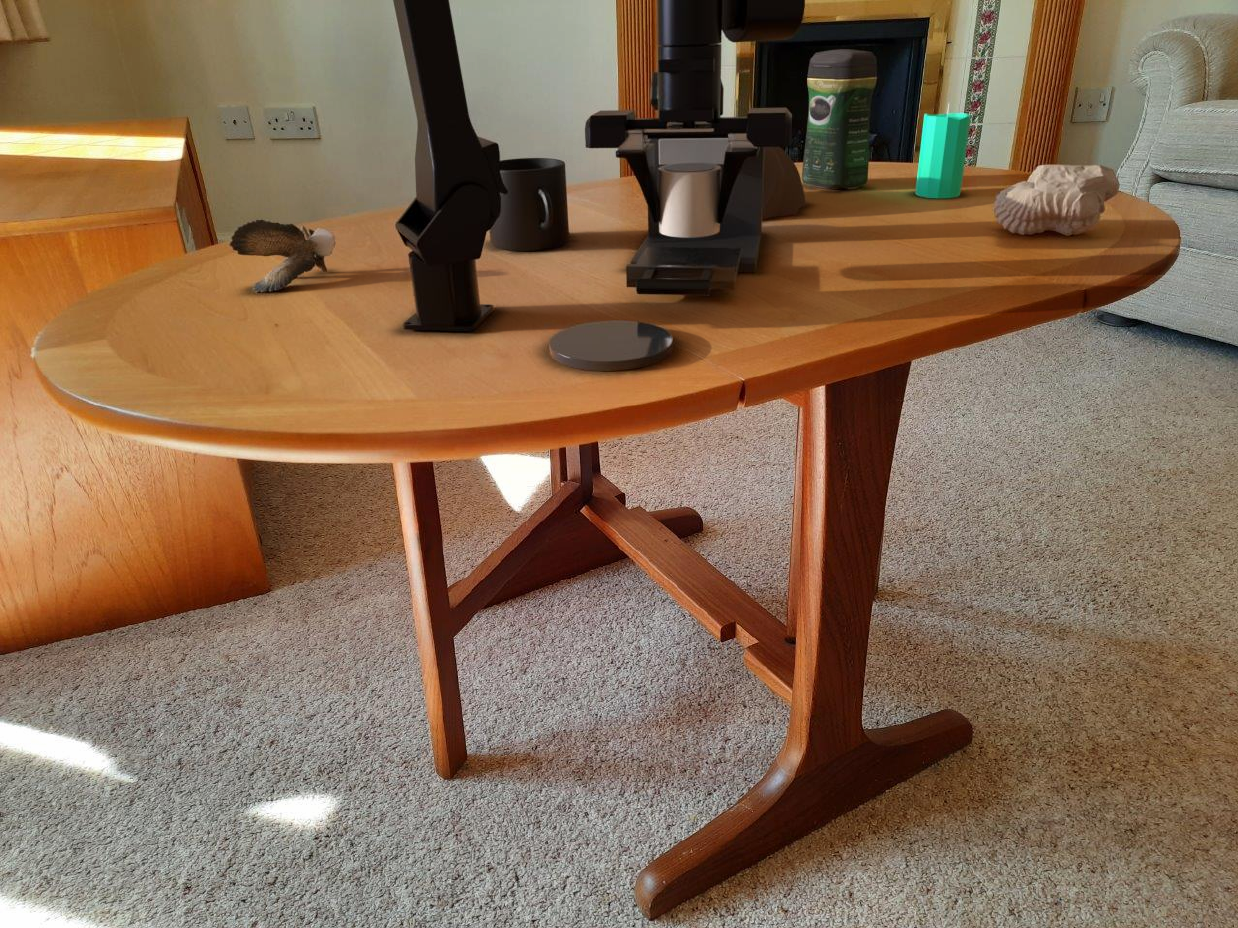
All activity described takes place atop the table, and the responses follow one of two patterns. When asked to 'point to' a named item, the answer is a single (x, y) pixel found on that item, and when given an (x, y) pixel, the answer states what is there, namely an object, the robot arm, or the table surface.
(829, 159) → the coffee jar
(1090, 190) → the fossil replica
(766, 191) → the decorative dome
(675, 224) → the white cup
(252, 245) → the eagle figurine
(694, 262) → the tray
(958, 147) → the candle
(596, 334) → the coaster
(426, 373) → the table surface
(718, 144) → the coffee machine
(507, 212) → the mug
